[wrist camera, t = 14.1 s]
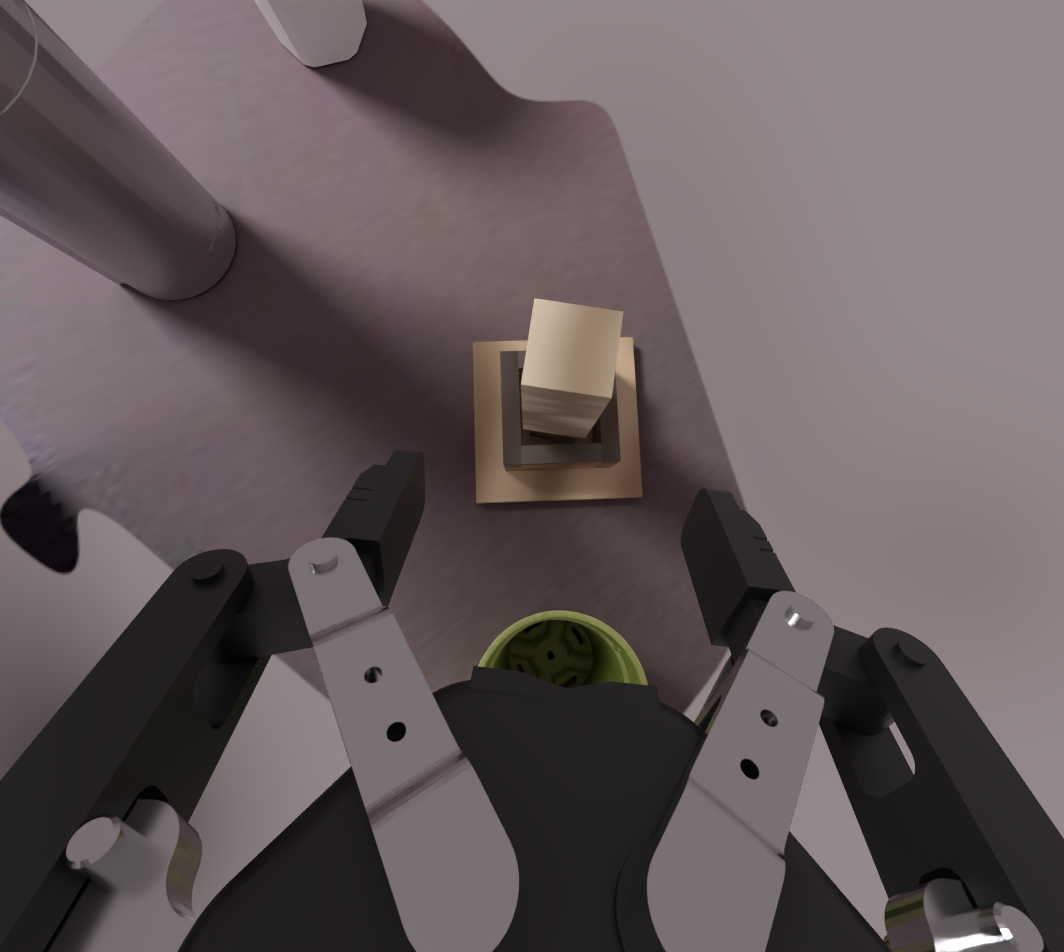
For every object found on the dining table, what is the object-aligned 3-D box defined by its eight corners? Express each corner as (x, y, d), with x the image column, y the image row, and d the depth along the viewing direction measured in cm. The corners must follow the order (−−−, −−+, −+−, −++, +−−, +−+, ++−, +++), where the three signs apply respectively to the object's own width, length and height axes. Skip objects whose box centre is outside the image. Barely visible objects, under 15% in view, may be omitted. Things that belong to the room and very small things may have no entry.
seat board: (477, 503, 33) (469, 499, 28) (474, 347, 34) (466, 320, 29) (639, 497, 33) (656, 493, 28) (629, 342, 34) (645, 315, 30)
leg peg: (523, 440, 32) (520, 384, 19) (531, 388, 33) (534, 298, 20) (577, 449, 32) (611, 397, 19) (585, 396, 33) (623, 311, 20)
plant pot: (642, 670, 31) (686, 725, 23) (535, 752, 31) (538, 840, 22) (566, 561, 32) (580, 575, 24) (459, 639, 32) (434, 682, 23)
